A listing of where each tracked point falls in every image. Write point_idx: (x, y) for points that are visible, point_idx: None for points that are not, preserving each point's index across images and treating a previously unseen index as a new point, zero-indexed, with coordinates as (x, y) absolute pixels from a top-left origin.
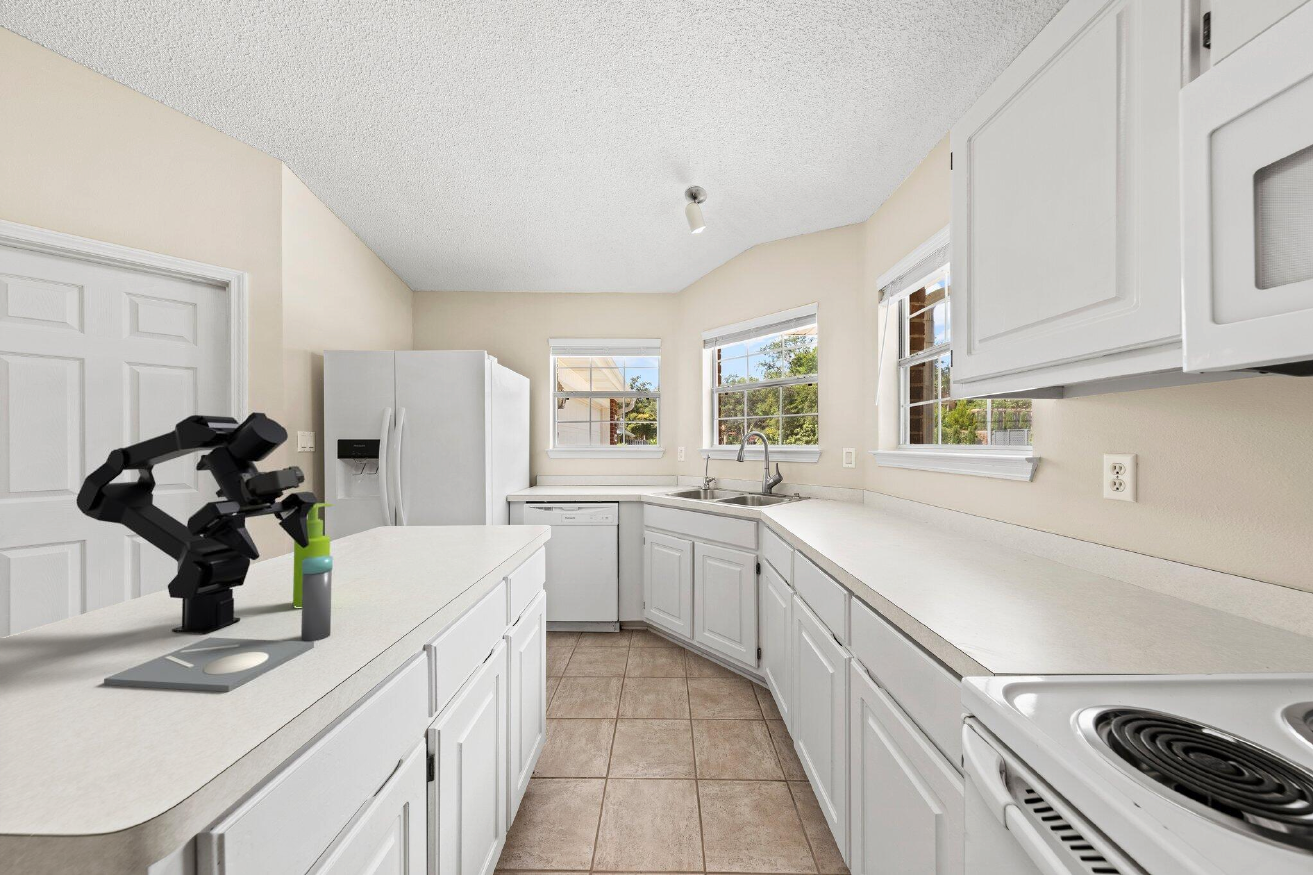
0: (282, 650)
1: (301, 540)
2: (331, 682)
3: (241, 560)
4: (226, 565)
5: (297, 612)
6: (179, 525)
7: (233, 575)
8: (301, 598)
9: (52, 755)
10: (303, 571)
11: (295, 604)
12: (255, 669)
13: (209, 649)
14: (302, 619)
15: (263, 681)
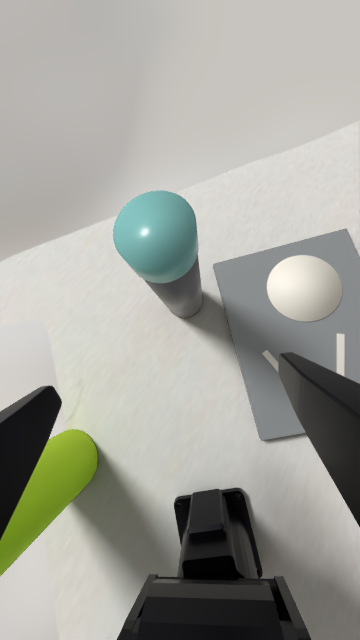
0: (249, 274)
1: (35, 422)
2: (274, 161)
3: (163, 635)
4: (225, 628)
5: (113, 436)
6: None
7: (194, 581)
8: (85, 460)
9: None
10: (197, 250)
11: (93, 468)
12: (303, 246)
13: None
14: (200, 295)
15: (305, 225)
